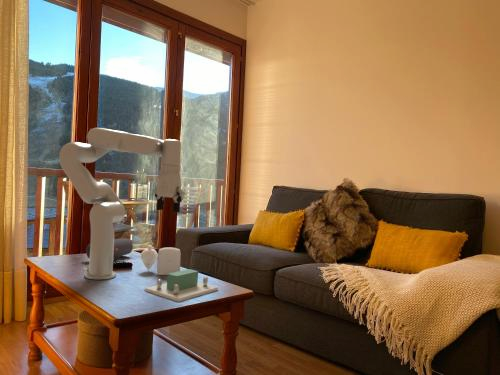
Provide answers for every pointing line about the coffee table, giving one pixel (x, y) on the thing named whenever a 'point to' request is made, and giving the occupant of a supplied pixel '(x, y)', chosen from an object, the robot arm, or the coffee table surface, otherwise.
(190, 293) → the standoff plate
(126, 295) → the coffee table surface
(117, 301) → the coffee table surface
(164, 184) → the robot arm
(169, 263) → the photo printer
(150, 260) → the spinning top
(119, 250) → the bluetooth speaker
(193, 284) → the board block
